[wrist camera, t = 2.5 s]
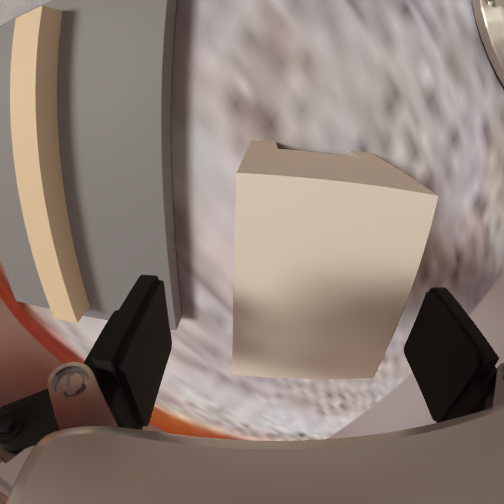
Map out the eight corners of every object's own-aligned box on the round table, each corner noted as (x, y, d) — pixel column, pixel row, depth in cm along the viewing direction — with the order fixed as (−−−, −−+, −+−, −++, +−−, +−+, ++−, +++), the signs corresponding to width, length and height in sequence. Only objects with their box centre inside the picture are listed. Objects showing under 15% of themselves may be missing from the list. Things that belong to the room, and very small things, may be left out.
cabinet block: (370, 153, 14) (438, 195, 8) (342, 297, 18) (367, 388, 12) (251, 140, 14) (236, 172, 8) (244, 291, 18) (232, 385, 12)
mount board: (179, -23, 10) (158, -47, 7) (182, 314, 19) (169, 350, 16) (-7, 38, 10) (-39, 39, 7) (25, 290, 20) (3, 314, 17)
